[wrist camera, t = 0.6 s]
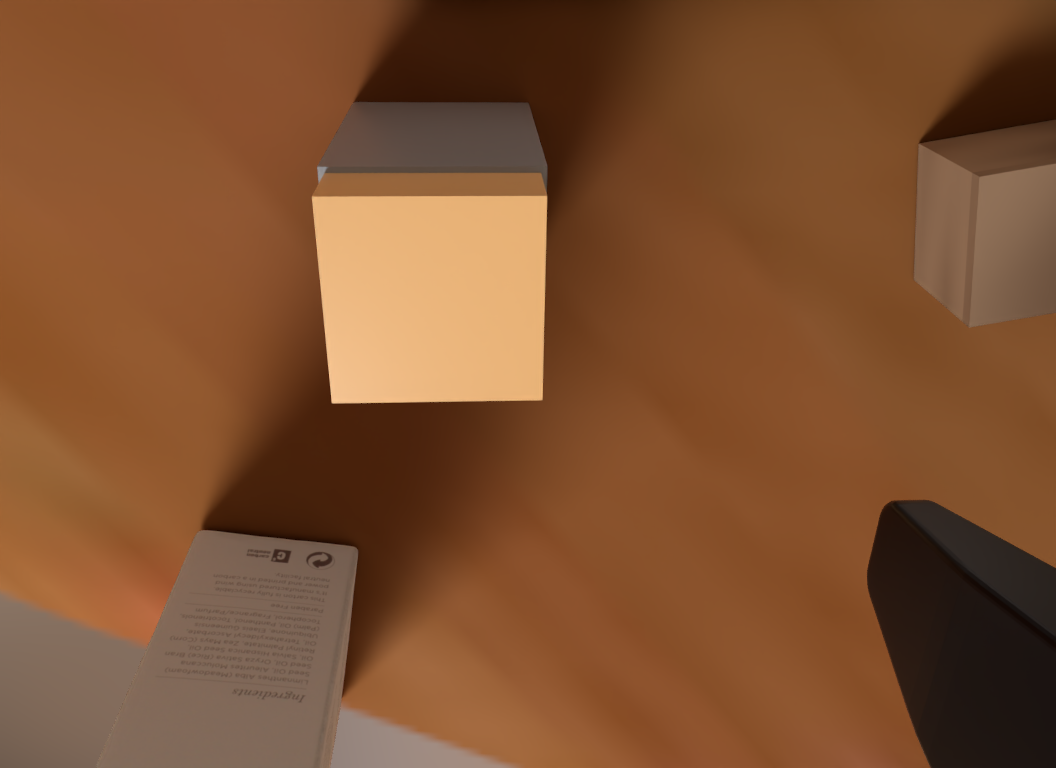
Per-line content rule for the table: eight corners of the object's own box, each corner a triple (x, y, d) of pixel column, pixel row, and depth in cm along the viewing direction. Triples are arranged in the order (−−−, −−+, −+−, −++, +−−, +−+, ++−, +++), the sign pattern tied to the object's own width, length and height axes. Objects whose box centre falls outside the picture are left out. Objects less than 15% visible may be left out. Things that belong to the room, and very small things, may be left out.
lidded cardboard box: (528, 102, 19) (554, 189, 14) (526, 266, 21) (548, 405, 15) (353, 101, 19) (304, 189, 13) (365, 267, 21) (326, 408, 15)
